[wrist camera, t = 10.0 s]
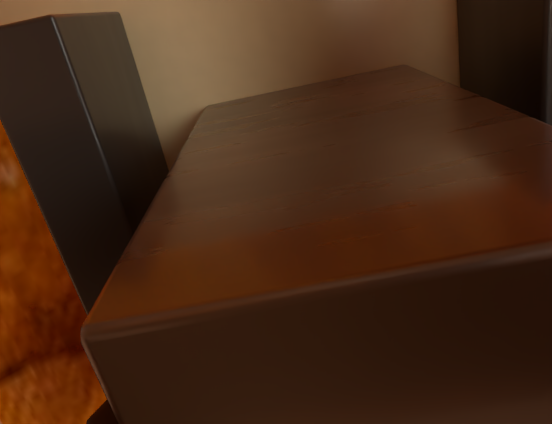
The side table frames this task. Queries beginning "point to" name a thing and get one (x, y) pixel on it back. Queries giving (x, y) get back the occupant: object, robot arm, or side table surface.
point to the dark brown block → (339, 264)
